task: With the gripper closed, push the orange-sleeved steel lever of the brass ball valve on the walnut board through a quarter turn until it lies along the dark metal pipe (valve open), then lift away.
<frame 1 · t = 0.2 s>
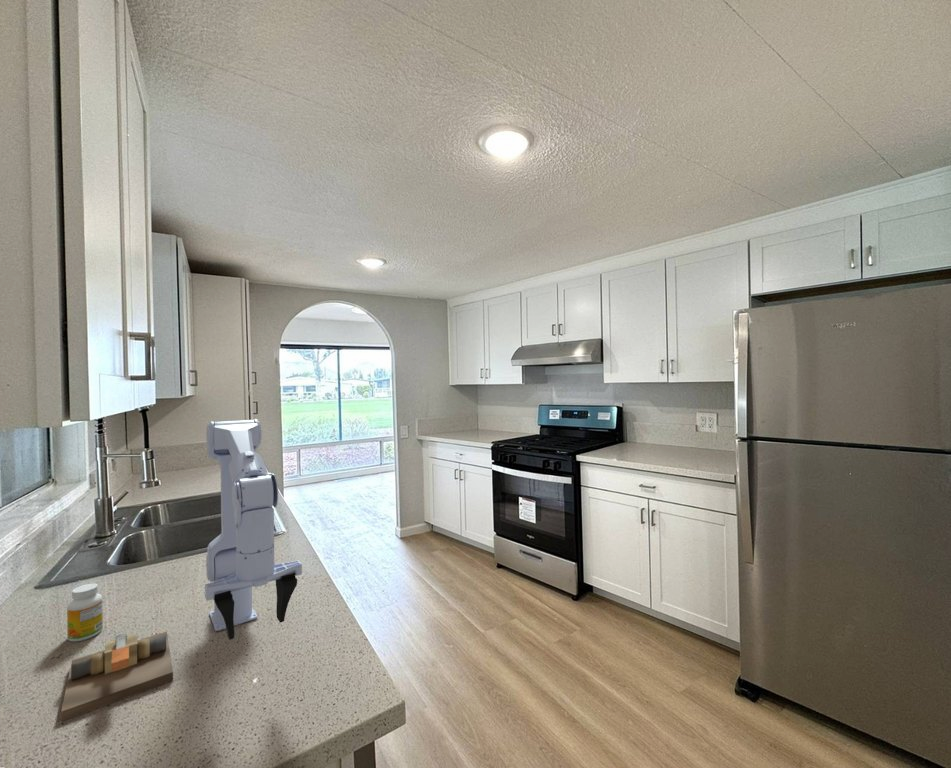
hand: (256, 627, 72), 10 cm above the countertop, tool pointing down, fingers open, 7 cm apart
valve base: (121, 671, 77), on the countertop
supplement bottle: (85, 635, 88), on the countertop
valve lever: (120, 649, 73), point 6 cm above the countertop, hinge at 0.0°
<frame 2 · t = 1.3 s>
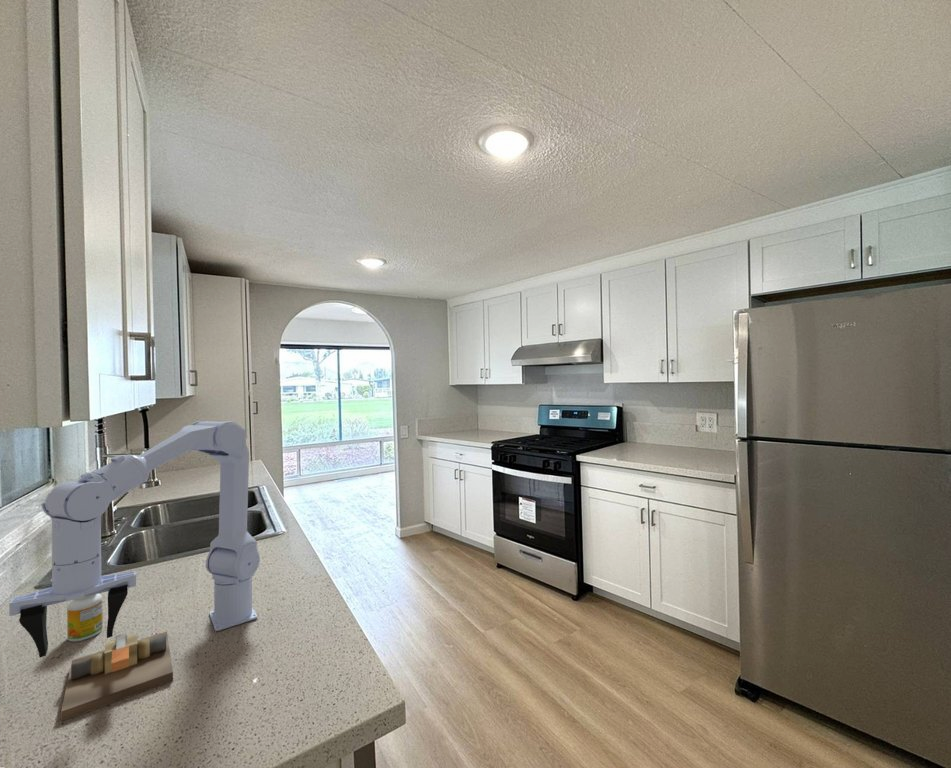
hand: (77, 643, 68), 10 cm above the countertop, tool pointing down, fingers open, 7 cm apart
nothing on the countertop moved.
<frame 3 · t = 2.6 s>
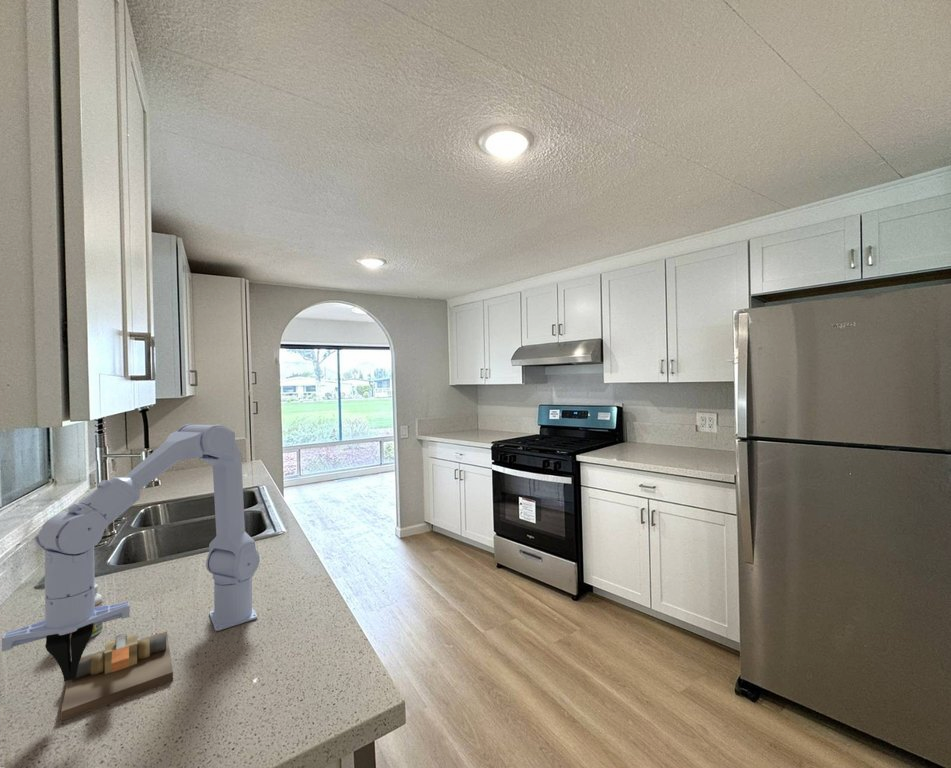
hand: (70, 676, 67), 5 cm above the countertop, tool pointing down, fingers closed
nothing on the countertop moved.
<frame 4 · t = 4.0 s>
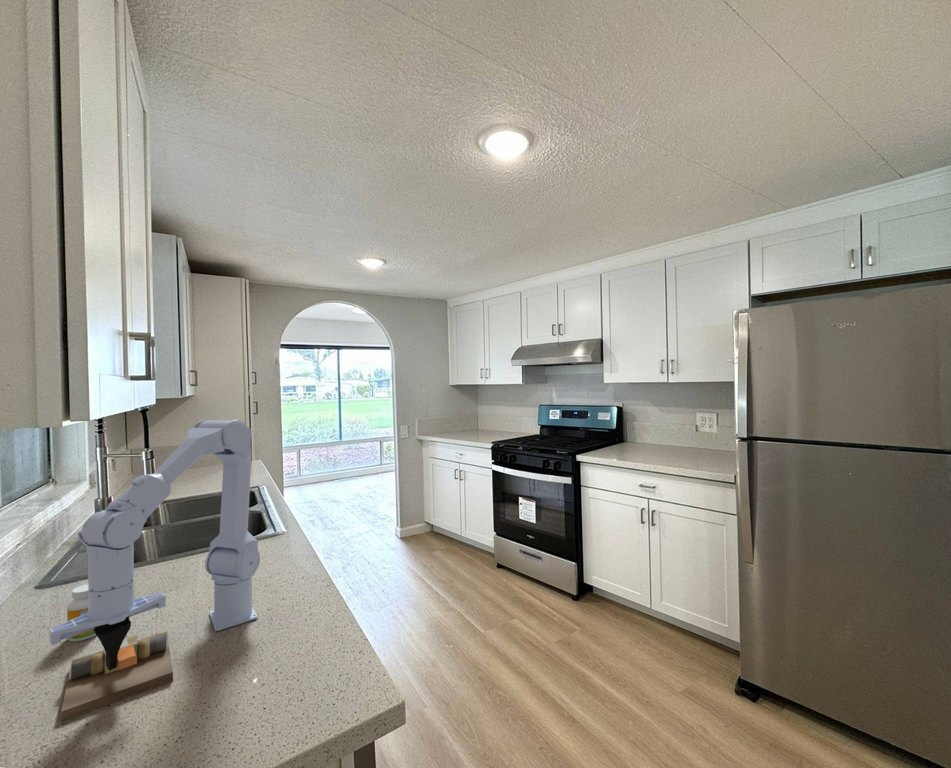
hand: (111, 666, 70), 5 cm above the countertop, tool pointing down, fingers closed, pressing on valve lever
valve lever: (123, 648, 73), point 6 cm above the countertop, hinge at 5.4°, touching gripper
everything else where it was.
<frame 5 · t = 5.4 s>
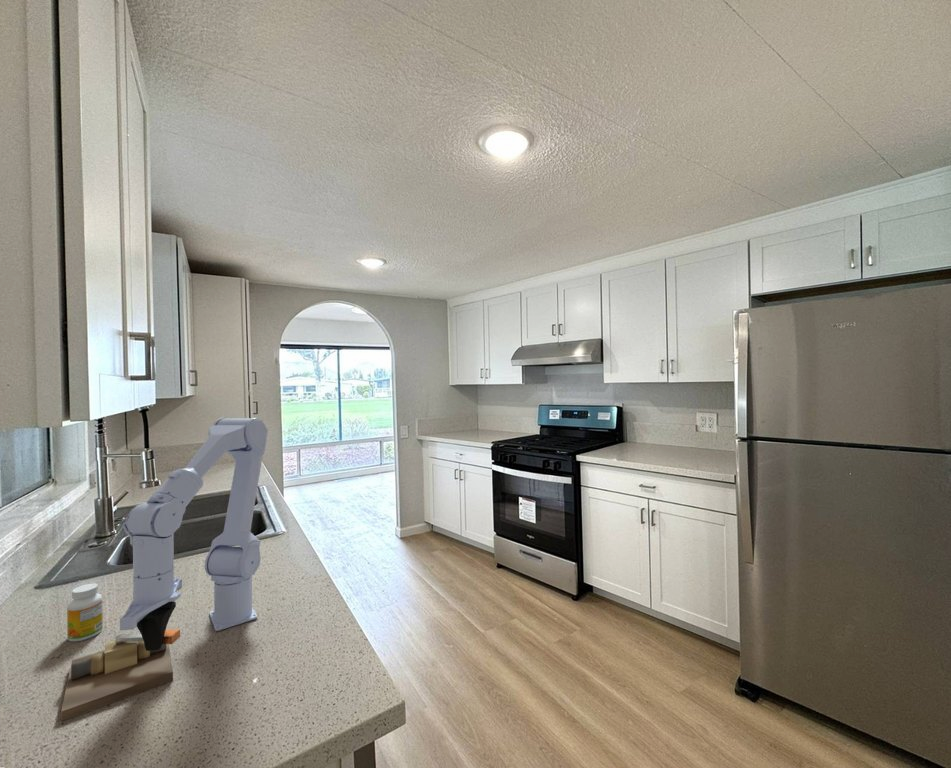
hand: (153, 648, 75), 5 cm above the countertop, tool pointing down, fingers closed, pressing on valve lever
valve lever: (146, 637, 77), point 6 cm above the countertop, hinge at 52.5°, touching gripper
everything else where it was.
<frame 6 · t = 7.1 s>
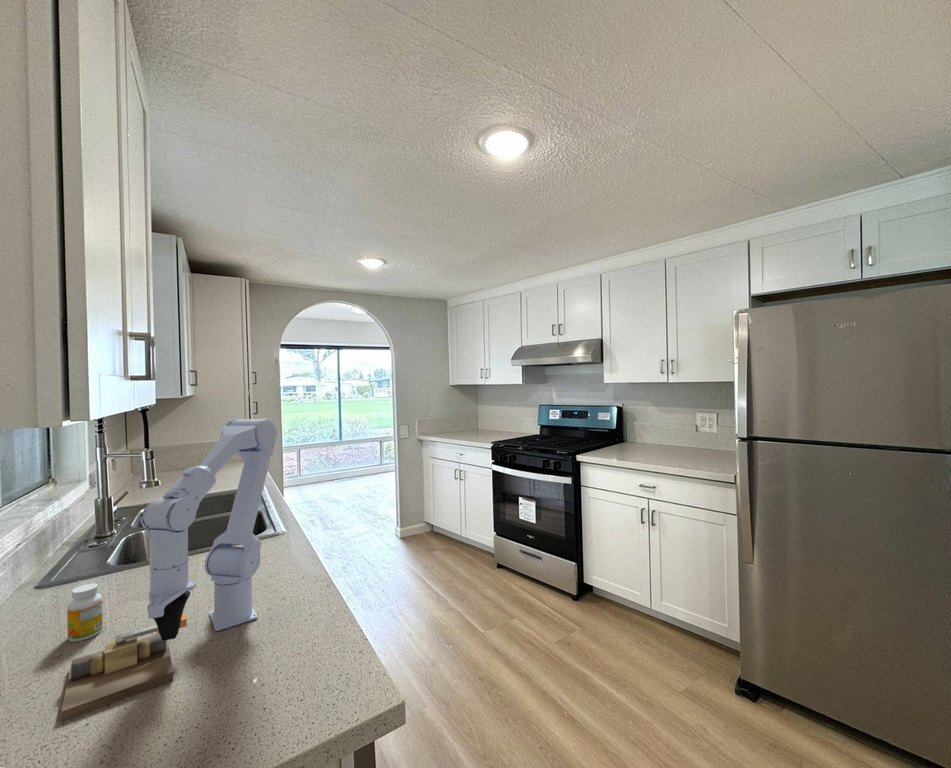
hand: (169, 637, 78), 5 cm above the countertop, tool pointing down, fingers closed
valve lever: (152, 629, 79), point 6 cm above the countertop, hinge at 86.9°
everything else where it was.
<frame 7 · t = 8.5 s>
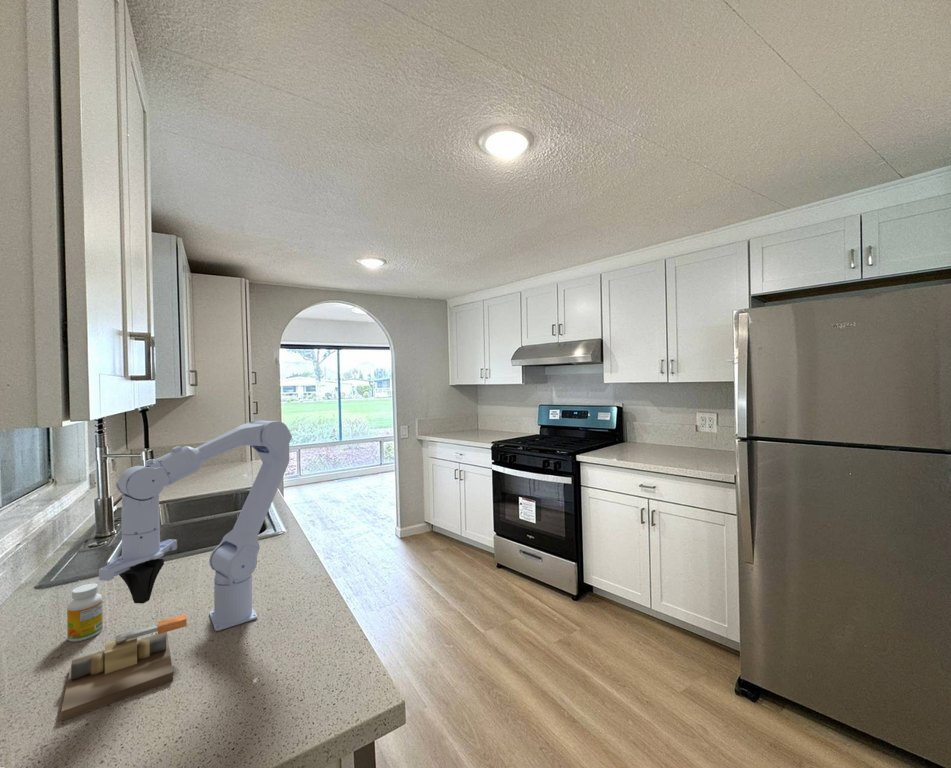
hand: (141, 601, 81), 10 cm above the countertop, tool pointing down, fingers closed
nothing on the countertop moved.
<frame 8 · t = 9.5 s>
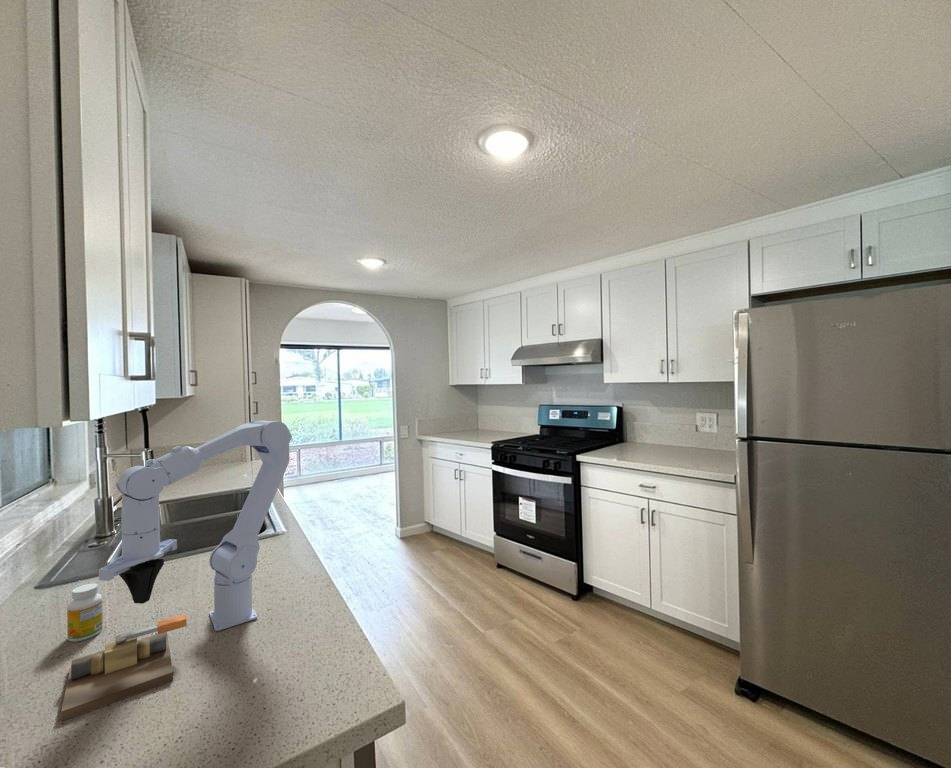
hand: (141, 601, 81), 10 cm above the countertop, tool pointing down, fingers closed
nothing on the countertop moved.
at the end: valve lever at +87° (first picture: +0°); supplement bottle tilted 0° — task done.
